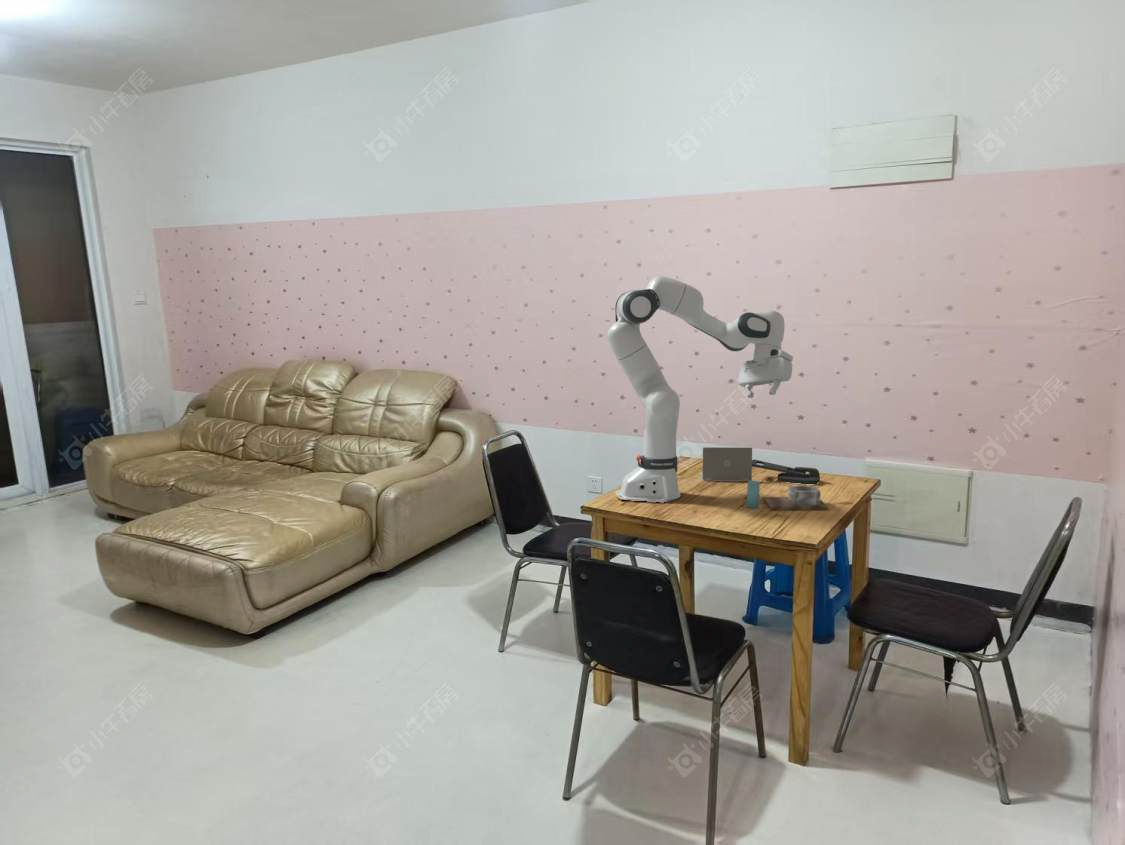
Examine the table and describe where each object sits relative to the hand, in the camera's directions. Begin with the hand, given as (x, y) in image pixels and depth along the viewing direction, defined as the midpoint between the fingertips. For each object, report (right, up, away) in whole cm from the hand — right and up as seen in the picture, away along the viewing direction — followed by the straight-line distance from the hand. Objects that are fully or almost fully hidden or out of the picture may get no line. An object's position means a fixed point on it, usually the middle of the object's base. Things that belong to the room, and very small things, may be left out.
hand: (760, 395), depth 255 cm
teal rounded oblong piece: (-4, -37, -6) cm, 37 cm away
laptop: (-5, -30, +35) cm, 46 cm away
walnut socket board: (+10, -36, -4) cm, 38 cm away
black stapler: (+16, -31, +28) cm, 45 cm away
